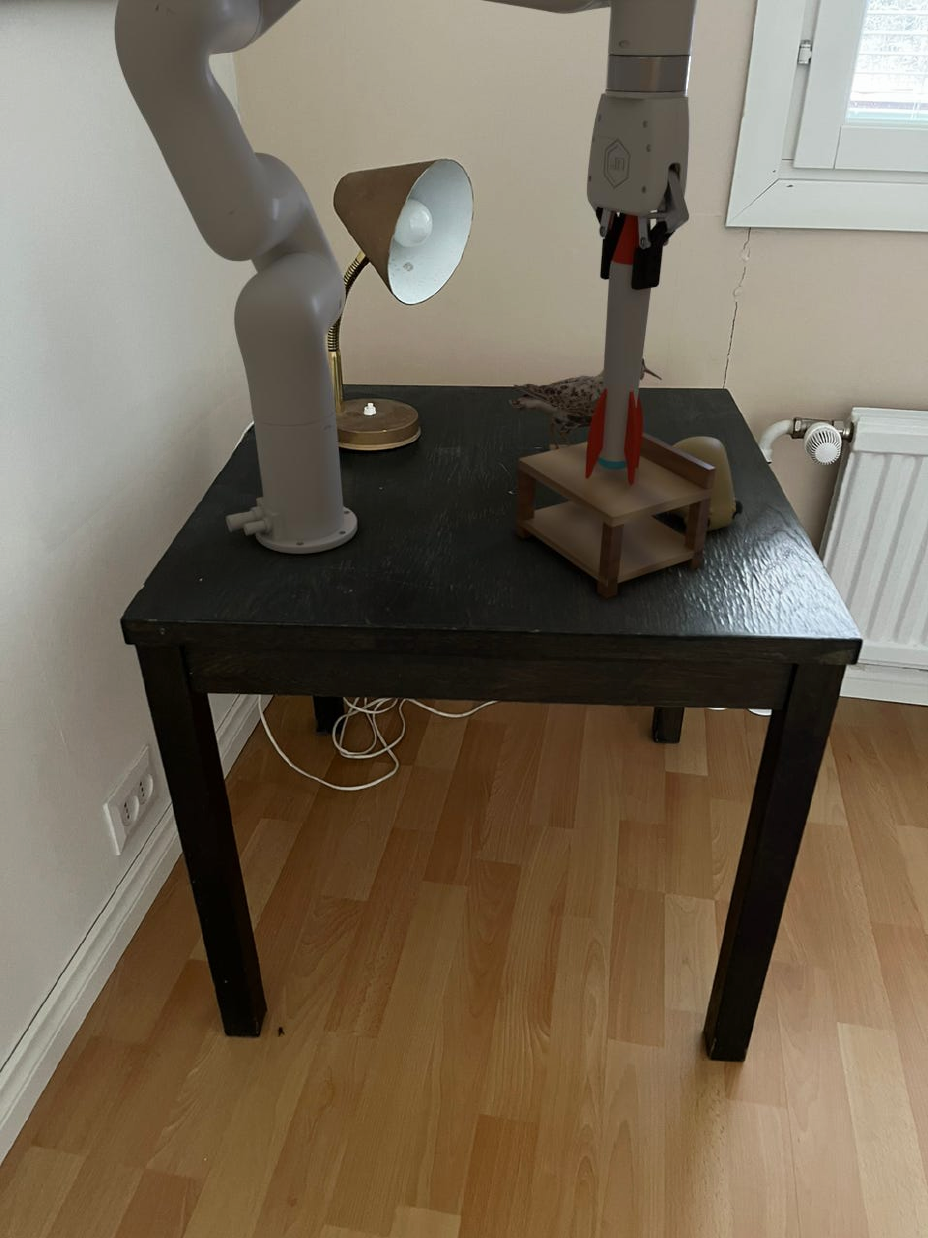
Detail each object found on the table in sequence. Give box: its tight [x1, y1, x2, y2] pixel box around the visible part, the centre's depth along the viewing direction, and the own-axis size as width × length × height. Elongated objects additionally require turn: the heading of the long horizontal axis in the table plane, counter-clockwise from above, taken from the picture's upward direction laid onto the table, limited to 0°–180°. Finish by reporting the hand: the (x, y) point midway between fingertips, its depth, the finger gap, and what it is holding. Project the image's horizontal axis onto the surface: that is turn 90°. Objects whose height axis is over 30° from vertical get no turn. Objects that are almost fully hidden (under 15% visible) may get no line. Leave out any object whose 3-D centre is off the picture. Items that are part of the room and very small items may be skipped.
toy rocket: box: [585, 214, 652, 484], centre depth 101 cm, size 6×6×30 cm
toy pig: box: [669, 436, 744, 532], centre depth 119 cm, size 10×12×11 cm
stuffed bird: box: [509, 357, 663, 451], centre depth 132 cm, size 10×20×17 cm, turn 106°
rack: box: [515, 431, 716, 599], centre depth 111 cm, size 14×18×12 cm
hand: (629, 280), depth 97 cm, fingers closed on toy rocket, 4 cm apart
